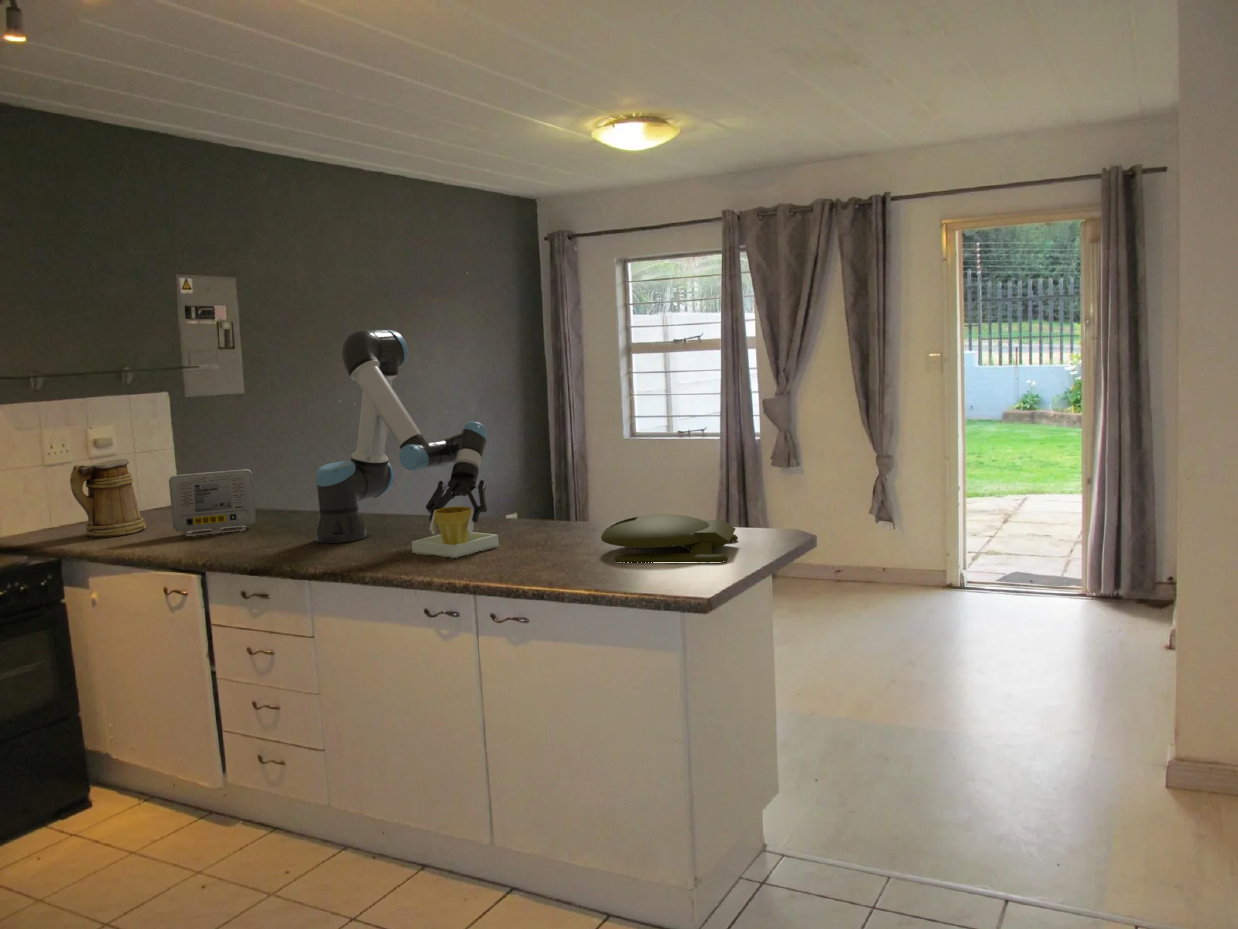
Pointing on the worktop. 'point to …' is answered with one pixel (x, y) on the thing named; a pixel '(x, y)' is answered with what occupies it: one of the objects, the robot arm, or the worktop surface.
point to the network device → (212, 501)
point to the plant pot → (453, 524)
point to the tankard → (107, 498)
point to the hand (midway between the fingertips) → (450, 531)
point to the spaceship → (670, 538)
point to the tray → (472, 545)
